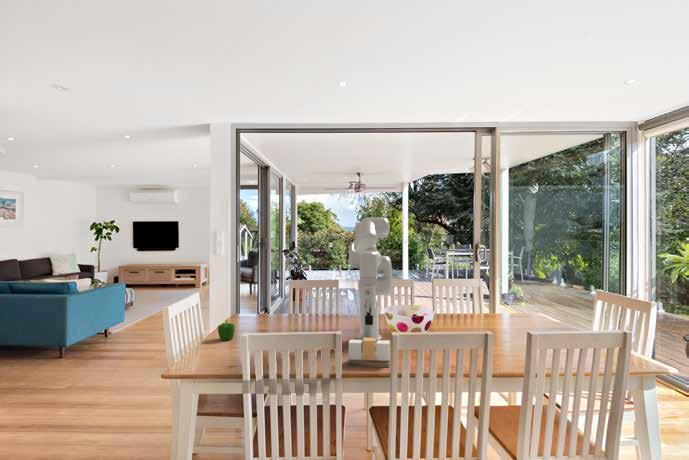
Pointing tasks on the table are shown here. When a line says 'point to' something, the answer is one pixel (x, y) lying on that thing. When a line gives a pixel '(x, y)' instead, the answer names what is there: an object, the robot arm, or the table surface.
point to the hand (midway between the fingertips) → (369, 324)
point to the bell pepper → (226, 331)
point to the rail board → (380, 360)
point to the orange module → (369, 349)
